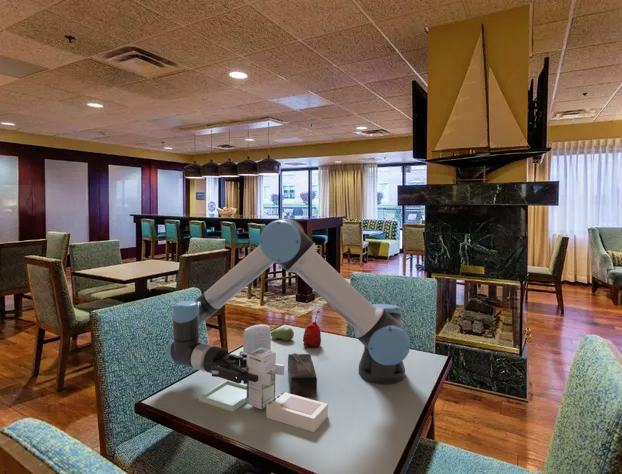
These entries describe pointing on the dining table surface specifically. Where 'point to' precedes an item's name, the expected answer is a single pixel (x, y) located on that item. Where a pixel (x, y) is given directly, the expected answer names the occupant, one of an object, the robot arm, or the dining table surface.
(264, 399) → the syrup box
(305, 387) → the beverage carton
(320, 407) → the pink-topped slotted block
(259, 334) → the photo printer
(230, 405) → the tray
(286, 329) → the pear
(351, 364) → the dining table surface
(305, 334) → the red clay folk toy
